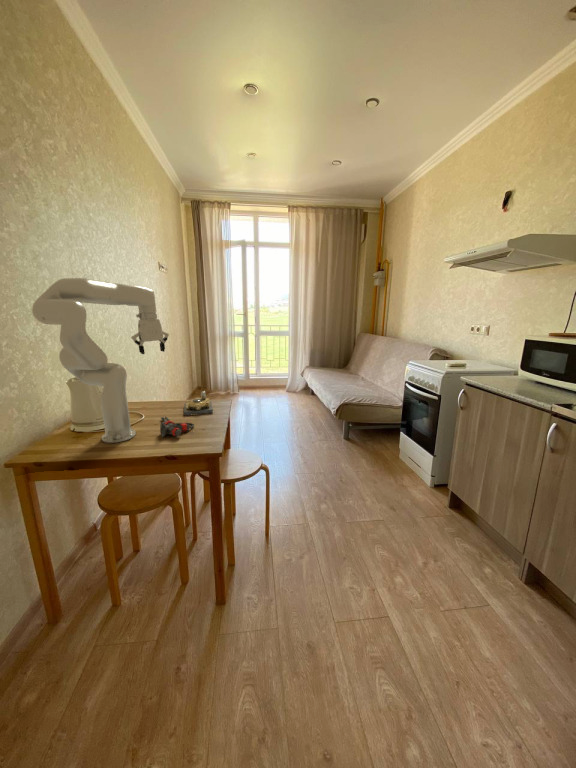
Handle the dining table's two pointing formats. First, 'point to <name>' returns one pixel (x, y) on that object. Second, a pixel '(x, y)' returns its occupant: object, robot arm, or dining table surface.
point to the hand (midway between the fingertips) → (152, 352)
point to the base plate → (200, 411)
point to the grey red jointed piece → (173, 427)
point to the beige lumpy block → (198, 402)
